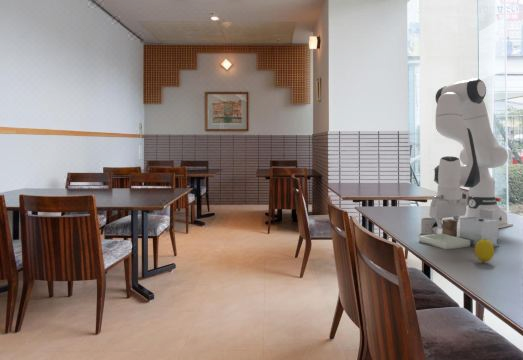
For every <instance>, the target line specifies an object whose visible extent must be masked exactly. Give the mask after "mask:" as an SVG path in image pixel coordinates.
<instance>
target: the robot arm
mask: <svg viewBox="0 0 523 360" xmlns="http://www.w3.org/2000/svg"><path fill="white" fill-rule="evenodd" d="M486 94H487V87H486V84H485V82H484V81H483V80H482V79H480V78H471V79H467V80H461V81H457V82H455V83H452V84H450V85H446V86H443V87H440V88H439V89H438V90H437V92H436V93H435V103H436V109H435V129H436V131H437V132H438V133H439V134H440V135H441V136H442V137H445V138H447V139H449V140H454V141H456V142H458V143H459V144H461V146H462V147H463V148H462V149H461V151H460V153H459V157H457V156H442V157H441V158H440V159H439V164H438V165H436V167H434V169H433V170H434V176H433V177H434V178H433V182H435V183H436V184H437V194H436V195H435V196H433V198H432V199H431V202H430V206H429V218H435V219H436V222H437V224H438V226H437V227H438V229H440V230H442V228H443V224H442V223H443V219H446V218H452V219H453V220H456V221H457V224H458V222H460V218H461V217H462V216H465V218H466V217H479V210H480V209H493V210H499V229H502V228H506V227H508V228H509V227H512V226H514V223H513V222H509V221H508V213H507V212H506V211H505V210H504V209H503V208H502V207H500V206H499V205H498V202H501V201H502V198H501V197H499V196H496V197H495V192H496V191H495V186H496V182H495V179H494V178H493V177H492V175H491V174H490V170H489V169H495V168H500V167H502V166H504V165H505V164H506V163H507V161H508V158H509V155H508V151H507V149H506V148H505V147H503V146H502V145H501V144H500V143H499V141H498V140H497V139H496V137H495V135H494V133H493V130H492V128H491V124H490V120H489V115H488V110H487V107H486V103H485V101H484V99H485V97H486ZM461 187H463V188H468V194H467V193H466V192H463V191H461Z"/></svg>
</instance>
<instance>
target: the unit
mask: <svg viewBox="0 0 523 360" xmlns="http://www.w3.org/2000/svg"><path fill="white" fill-rule="evenodd" d="M459 238H463V239H467V240H470V247H472V248H475V246H476V244H477V242H478V241H480V240H483V239H486V240H488V241H490V242H491V243H492V245H493V247H494V248H500V245H499V244H497V243H498V242H497V241H498V239H497V220H491V219H486V218H480V217H466V216H465V217H459Z"/></svg>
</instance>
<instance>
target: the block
mask: <svg viewBox="0 0 523 360" xmlns="http://www.w3.org/2000/svg"><path fill="white" fill-rule="evenodd" d="M442 224H443V228H442V229H441V231H442V232H441V234H446V235H450V236H455V237H458V235H457V234H458V223H457V221H456V220H454V218H452V219H451V218H449V219H442Z"/></svg>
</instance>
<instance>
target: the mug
mask: <svg viewBox="0 0 523 360" xmlns="http://www.w3.org/2000/svg"><path fill="white" fill-rule="evenodd" d="M437 226H438V224H437V222H436V219H435V218H431V217H421V225H420V229H421V230H420V232H421V233H420V234H421V235H422V236H423V235H433V234H438V229H439V228H438V227H437Z"/></svg>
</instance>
